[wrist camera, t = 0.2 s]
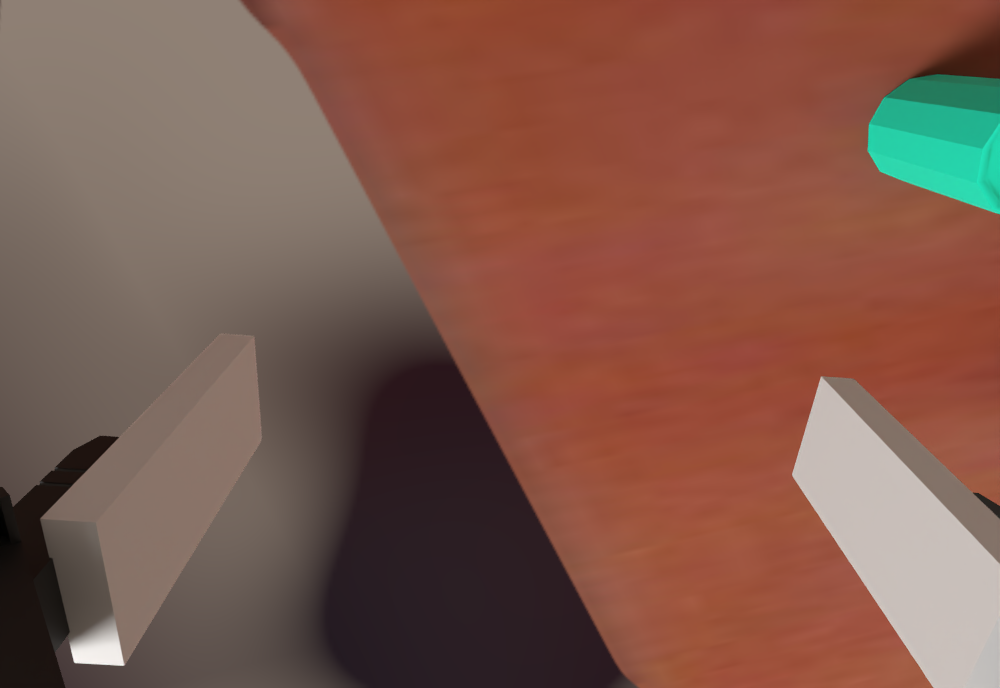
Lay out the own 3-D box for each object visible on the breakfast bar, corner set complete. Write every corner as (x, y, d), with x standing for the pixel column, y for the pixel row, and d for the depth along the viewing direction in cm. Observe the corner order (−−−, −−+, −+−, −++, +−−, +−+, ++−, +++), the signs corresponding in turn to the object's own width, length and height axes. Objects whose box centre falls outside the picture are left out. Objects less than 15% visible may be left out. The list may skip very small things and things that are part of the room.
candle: (950, 185, 41) (1111, 237, 30) (853, 175, 41) (980, 224, 30) (988, 79, 39) (1178, 94, 28) (885, 68, 39) (1036, 78, 28)
